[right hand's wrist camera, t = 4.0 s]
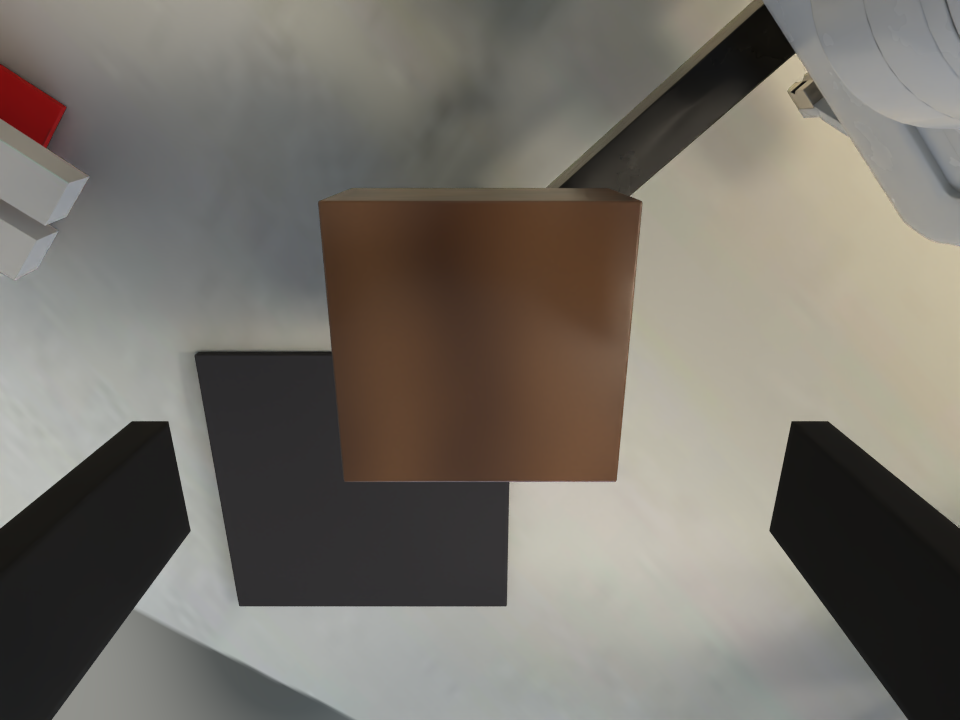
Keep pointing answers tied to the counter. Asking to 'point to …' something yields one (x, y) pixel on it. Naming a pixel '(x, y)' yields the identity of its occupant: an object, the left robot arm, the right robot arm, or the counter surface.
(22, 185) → the toy
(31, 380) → the counter surface
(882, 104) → the left robot arm
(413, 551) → the coaster
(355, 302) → the brown square block
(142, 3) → the counter surface
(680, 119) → the green mallet
